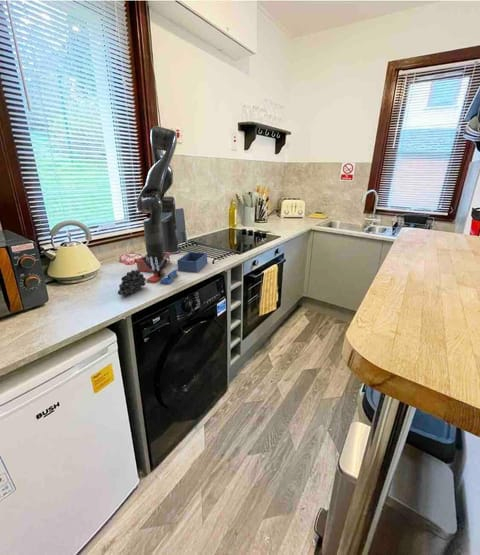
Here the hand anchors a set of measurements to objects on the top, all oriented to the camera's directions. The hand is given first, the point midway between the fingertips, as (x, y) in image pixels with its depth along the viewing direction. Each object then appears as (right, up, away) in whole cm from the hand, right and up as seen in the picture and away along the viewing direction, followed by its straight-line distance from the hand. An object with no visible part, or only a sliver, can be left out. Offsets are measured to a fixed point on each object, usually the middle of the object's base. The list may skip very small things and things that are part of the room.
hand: (158, 277), depth 130 cm
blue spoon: (+7, -1, -2) cm, 7 cm away
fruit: (-7, -7, -16) cm, 18 cm away
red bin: (-6, +5, +14) cm, 16 cm away
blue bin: (+15, +5, +14) cm, 21 cm away
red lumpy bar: (0, 0, -1) cm, 1 cm away
